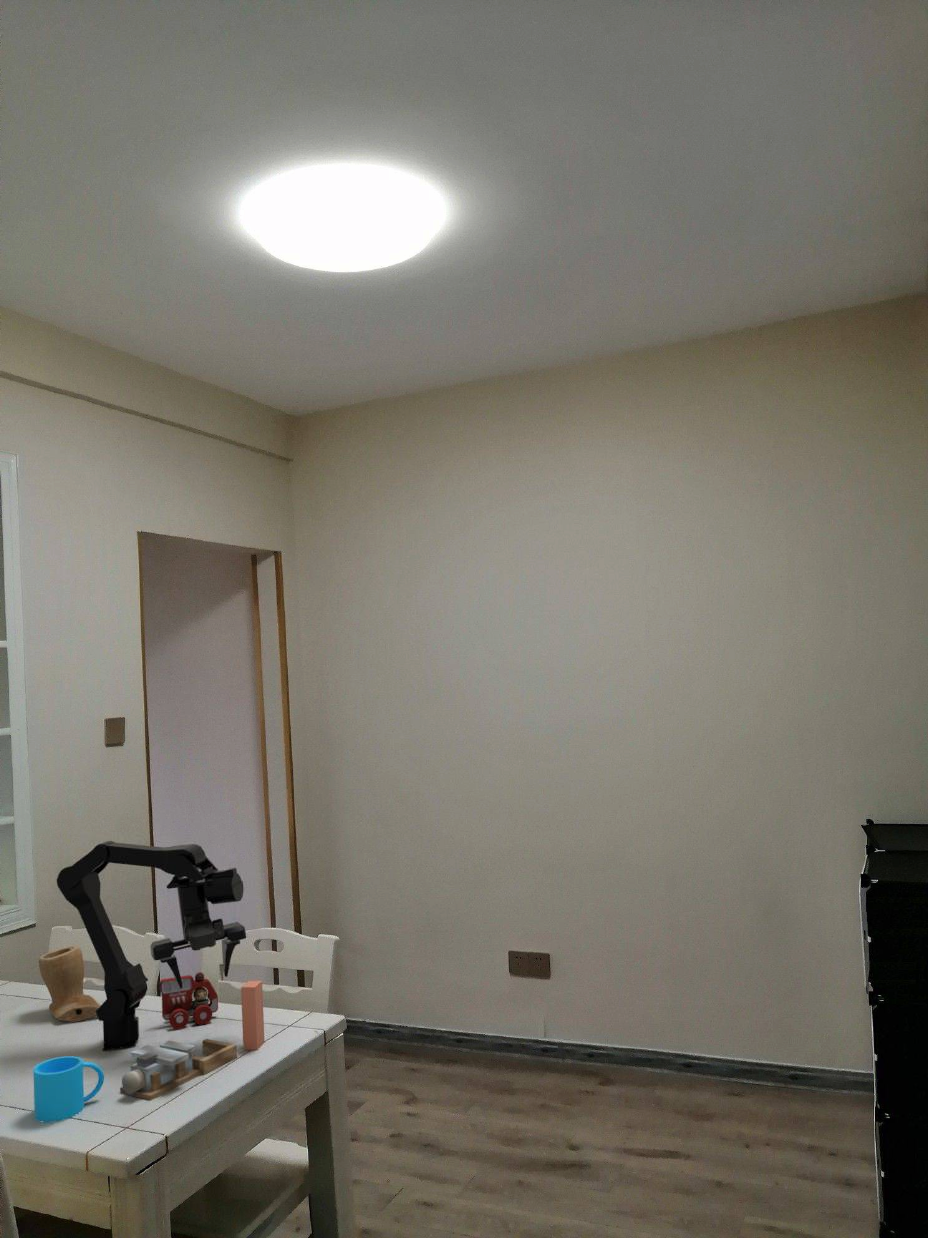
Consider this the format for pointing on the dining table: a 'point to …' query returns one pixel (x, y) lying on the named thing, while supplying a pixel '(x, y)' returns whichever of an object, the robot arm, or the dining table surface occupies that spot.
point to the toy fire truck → (187, 1000)
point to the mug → (61, 1088)
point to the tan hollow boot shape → (67, 984)
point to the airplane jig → (172, 1066)
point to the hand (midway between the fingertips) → (203, 982)
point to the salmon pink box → (252, 1015)
